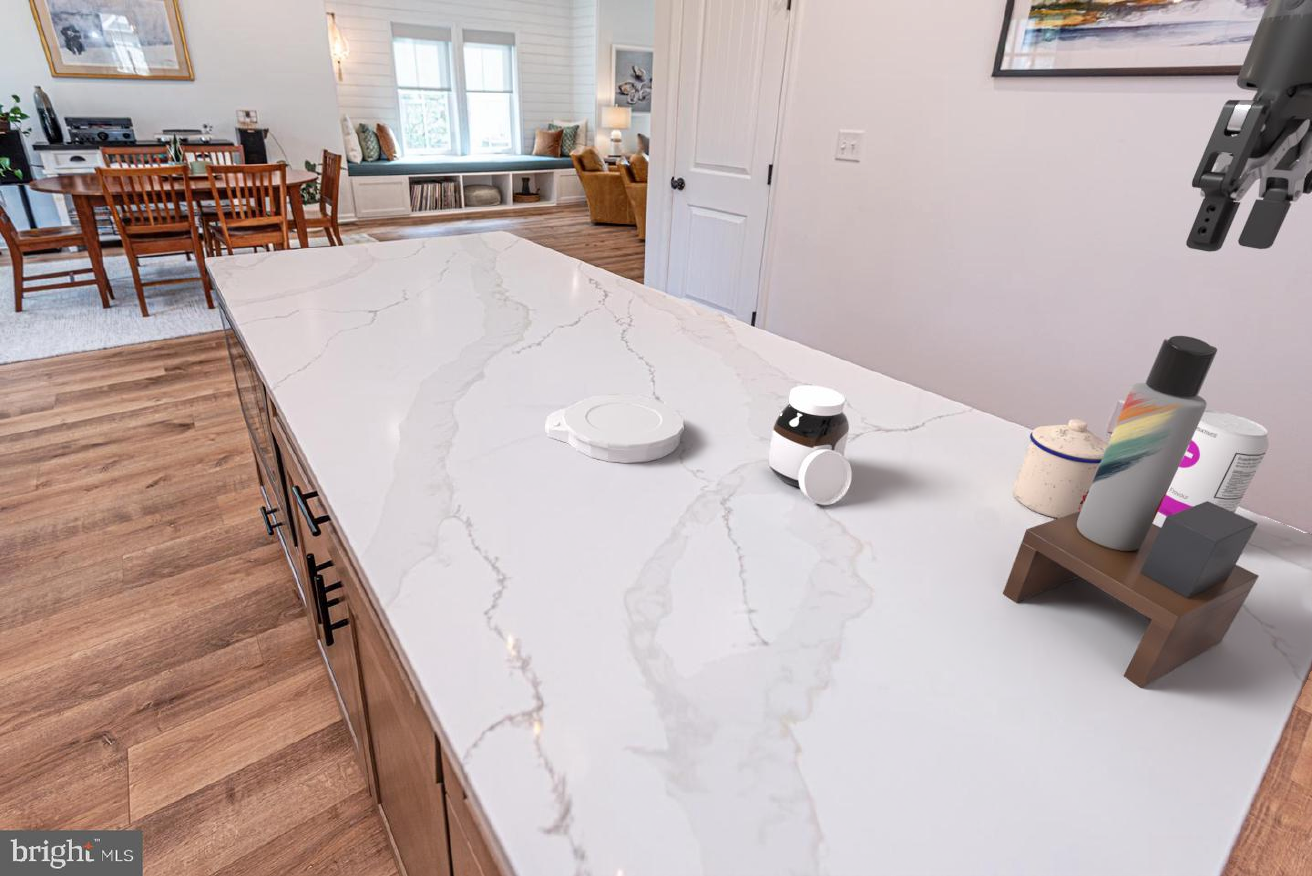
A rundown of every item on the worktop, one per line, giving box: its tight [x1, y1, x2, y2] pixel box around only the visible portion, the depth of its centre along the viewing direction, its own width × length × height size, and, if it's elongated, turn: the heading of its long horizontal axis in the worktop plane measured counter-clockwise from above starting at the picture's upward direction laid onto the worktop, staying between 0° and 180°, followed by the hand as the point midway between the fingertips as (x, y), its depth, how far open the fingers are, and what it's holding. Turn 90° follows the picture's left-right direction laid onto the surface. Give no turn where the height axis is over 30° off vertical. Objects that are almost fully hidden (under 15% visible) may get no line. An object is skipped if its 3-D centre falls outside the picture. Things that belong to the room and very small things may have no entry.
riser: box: [1002, 511, 1260, 689], centre depth 66 cm, size 14×14×8 cm
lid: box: [544, 393, 685, 464], centre depth 97 cm, size 17×20×3 cm
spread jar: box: [768, 384, 853, 506], centre depth 86 cm, size 12×11×12 cm
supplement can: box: [1153, 409, 1270, 527], centre depth 81 cm, size 8×8×15 cm
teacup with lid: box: [1013, 418, 1108, 519], centre depth 87 cm, size 12×9×12 cm
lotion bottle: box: [1077, 335, 1218, 551], centre depth 62 cm, size 6×6×20 cm
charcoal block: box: [1141, 501, 1258, 598], centre depth 60 cm, size 7×4×6 cm, turn 118°
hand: (1228, 248), depth 55 cm, fingers open, 8 cm apart
